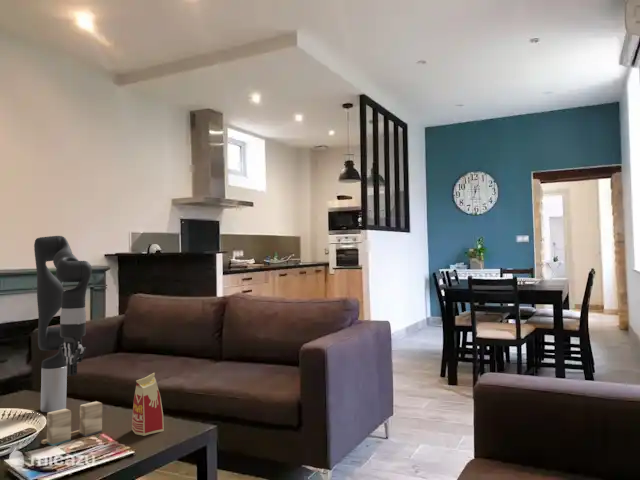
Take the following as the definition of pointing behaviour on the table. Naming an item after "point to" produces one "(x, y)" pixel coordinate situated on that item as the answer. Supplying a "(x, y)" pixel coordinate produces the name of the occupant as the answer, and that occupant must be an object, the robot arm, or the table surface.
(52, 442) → the teal-foot block
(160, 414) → the milk carton
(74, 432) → the strip
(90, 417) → the pale wooden block
